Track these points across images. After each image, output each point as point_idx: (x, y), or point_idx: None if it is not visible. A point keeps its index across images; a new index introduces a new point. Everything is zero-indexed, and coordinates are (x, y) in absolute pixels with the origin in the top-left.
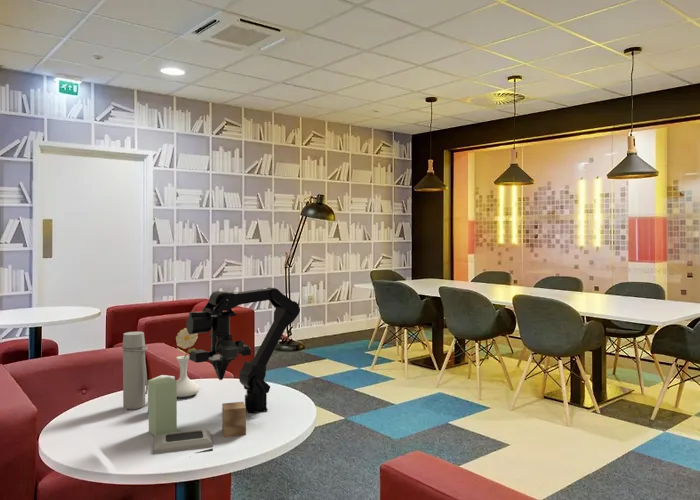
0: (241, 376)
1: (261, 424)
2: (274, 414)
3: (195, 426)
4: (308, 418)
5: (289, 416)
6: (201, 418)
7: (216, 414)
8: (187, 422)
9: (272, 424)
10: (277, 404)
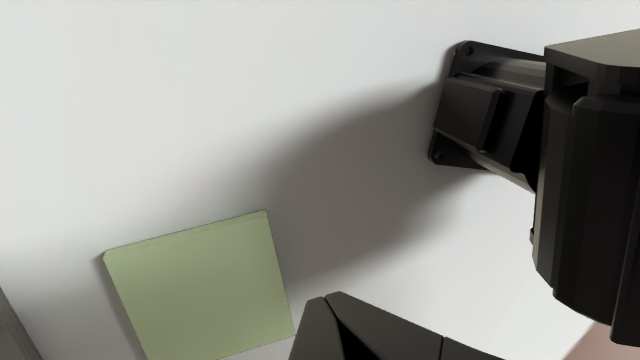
0: (600, 172)
1: None
2: (519, 224)
3: (84, 258)
4: None
5: None
6: (137, 129)
7: (251, 91)
8: (29, 170)
9: None
10: None
